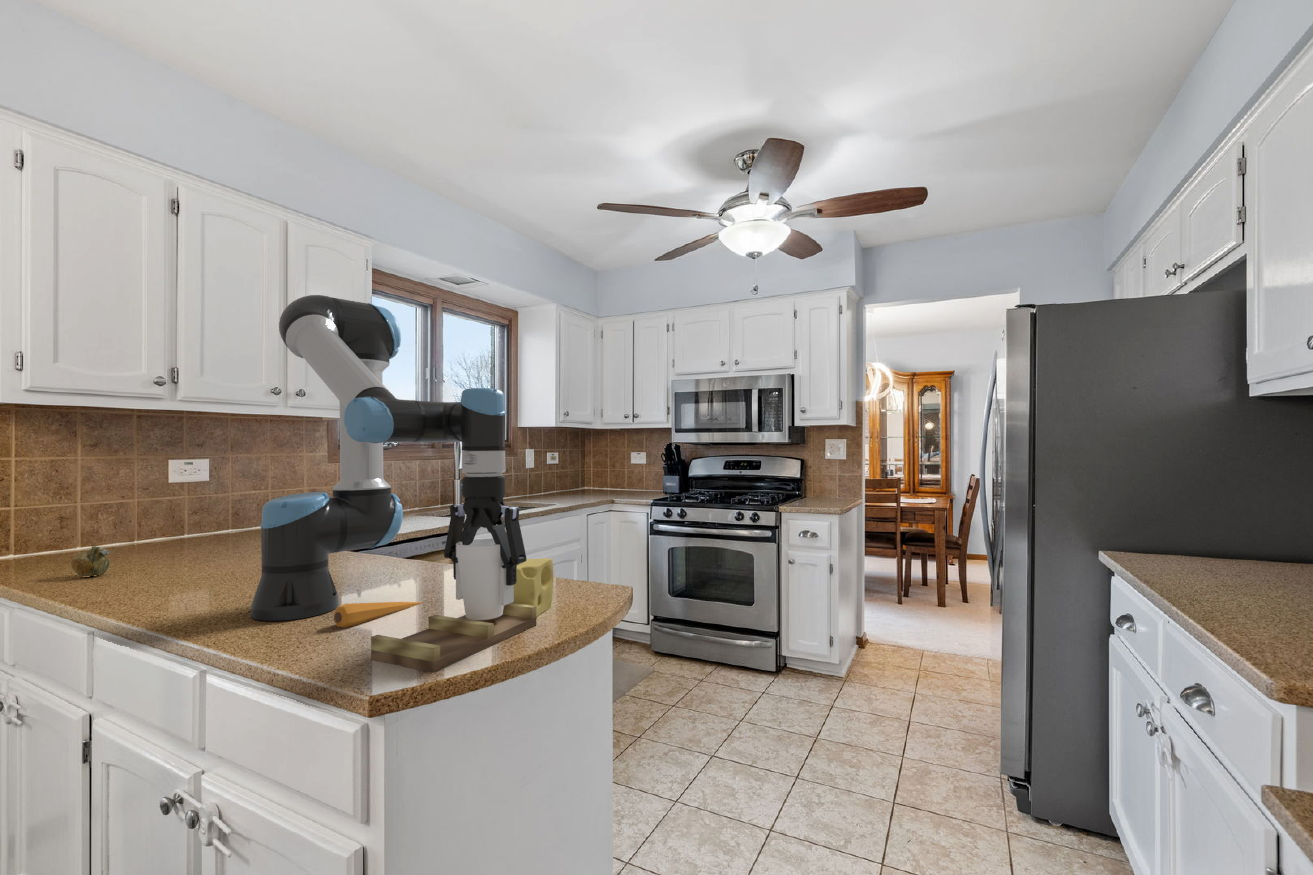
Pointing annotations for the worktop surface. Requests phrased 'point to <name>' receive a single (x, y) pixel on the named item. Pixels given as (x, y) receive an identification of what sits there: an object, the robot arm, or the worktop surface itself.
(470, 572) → the foam cup
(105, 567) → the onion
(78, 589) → the worktop surface
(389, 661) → the rack
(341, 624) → the carrot
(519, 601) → the cheese
